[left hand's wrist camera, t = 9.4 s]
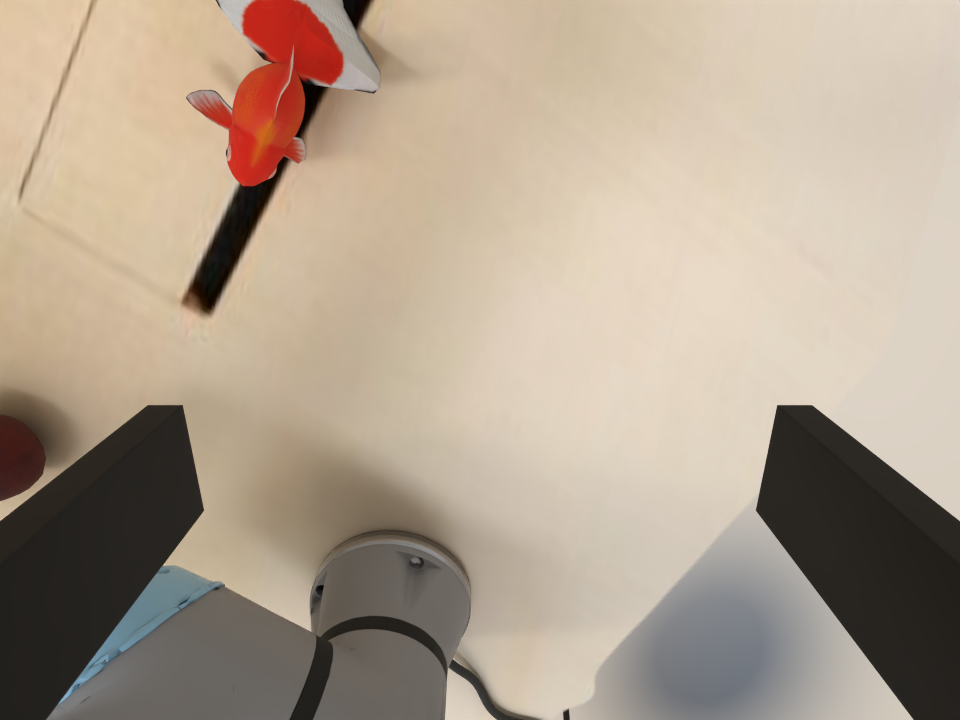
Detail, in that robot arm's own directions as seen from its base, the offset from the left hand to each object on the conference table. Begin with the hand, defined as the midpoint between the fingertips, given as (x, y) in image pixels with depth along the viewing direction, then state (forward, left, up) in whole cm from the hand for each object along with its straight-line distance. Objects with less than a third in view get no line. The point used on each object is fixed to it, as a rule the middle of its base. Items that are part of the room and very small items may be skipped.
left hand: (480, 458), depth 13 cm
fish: (+15, +8, -33) cm, 37 cm away
